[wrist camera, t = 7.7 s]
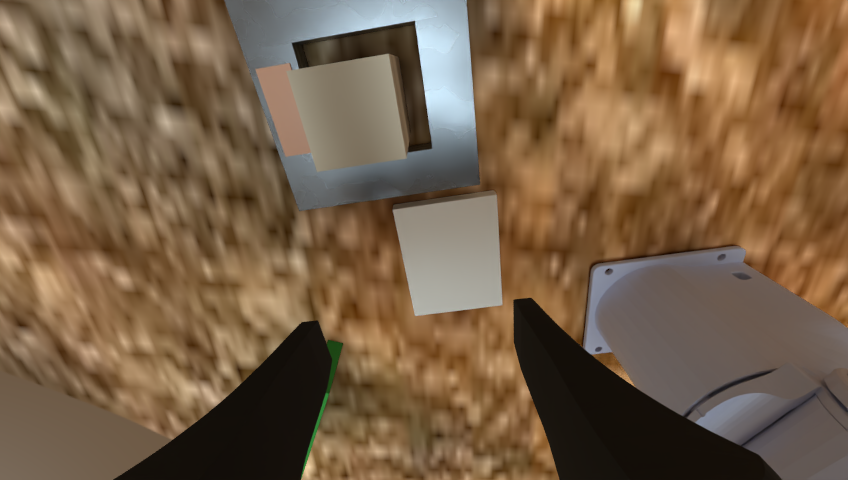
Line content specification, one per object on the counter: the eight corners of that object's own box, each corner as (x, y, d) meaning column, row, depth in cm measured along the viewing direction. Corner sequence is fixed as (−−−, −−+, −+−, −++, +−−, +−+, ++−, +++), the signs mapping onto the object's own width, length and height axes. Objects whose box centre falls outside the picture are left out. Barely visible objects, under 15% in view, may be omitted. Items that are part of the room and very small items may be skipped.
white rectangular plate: (494, 189, 19) (496, 194, 19) (499, 297, 23) (502, 305, 22) (393, 204, 20) (392, 209, 19) (415, 308, 23) (415, 316, 23)
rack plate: (458, -46, 14) (462, -58, 13) (475, 176, 19) (480, 184, 18) (238, -5, 15) (219, -11, 14) (307, 201, 20) (298, 211, 18)
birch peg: (398, 57, 16) (388, 53, 11) (410, 130, 18) (406, 158, 13) (329, 68, 16) (286, 71, 11) (347, 140, 18) (317, 172, 13)
